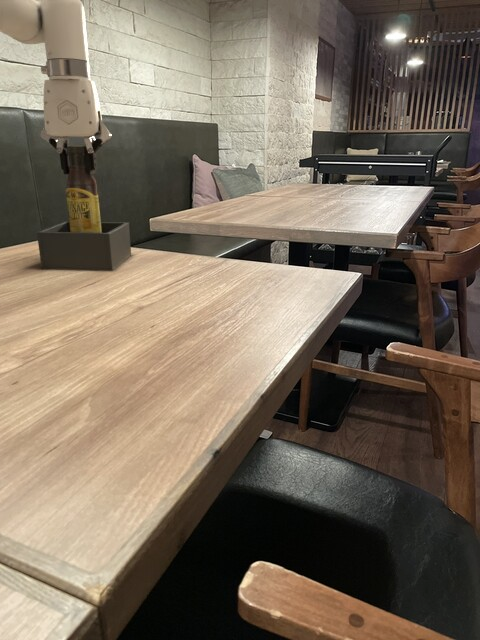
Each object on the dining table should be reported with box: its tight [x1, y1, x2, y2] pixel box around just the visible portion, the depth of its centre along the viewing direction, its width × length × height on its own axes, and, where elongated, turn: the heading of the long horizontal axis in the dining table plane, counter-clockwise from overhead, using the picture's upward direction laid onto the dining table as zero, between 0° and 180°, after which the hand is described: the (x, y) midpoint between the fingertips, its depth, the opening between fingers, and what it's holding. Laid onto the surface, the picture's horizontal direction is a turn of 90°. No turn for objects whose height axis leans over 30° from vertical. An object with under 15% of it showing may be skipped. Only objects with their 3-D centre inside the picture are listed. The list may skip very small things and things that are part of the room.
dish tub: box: [36, 220, 132, 272], centre depth 104 cm, size 15×14×8 cm
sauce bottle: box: [65, 145, 102, 233], centre depth 100 cm, size 7×6×20 cm
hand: (79, 172), depth 99 cm, fingers closed on sauce bottle, 4 cm apart
